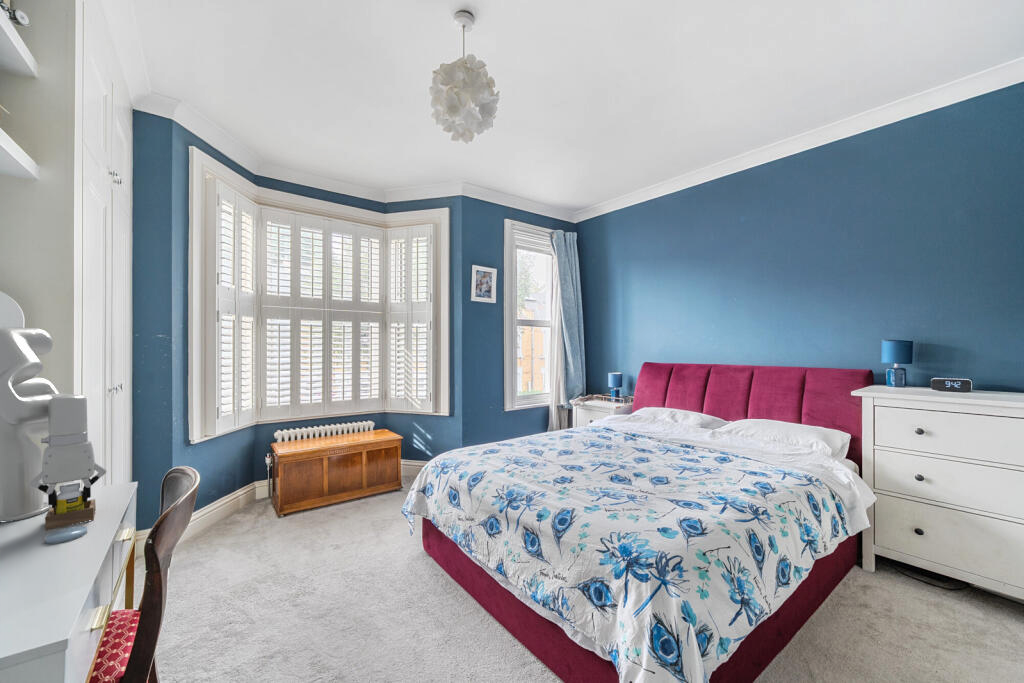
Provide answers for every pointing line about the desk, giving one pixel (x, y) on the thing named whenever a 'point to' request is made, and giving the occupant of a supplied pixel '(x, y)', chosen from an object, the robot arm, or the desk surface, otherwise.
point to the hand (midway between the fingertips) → (70, 503)
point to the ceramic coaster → (65, 535)
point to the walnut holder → (70, 516)
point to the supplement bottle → (69, 498)
